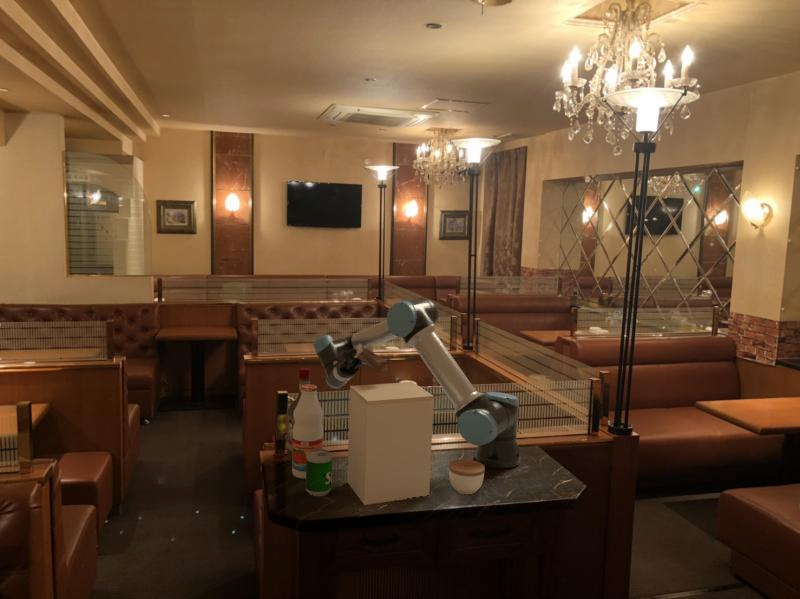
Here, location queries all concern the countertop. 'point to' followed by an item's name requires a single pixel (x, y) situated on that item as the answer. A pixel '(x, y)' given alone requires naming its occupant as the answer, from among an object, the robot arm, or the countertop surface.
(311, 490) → the soda can
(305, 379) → the liquor
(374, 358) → the dark brown wooden post
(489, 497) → the countertop surface
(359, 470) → the pedestal
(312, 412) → the fruit juice
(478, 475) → the lidded jar
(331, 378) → the robot arm
